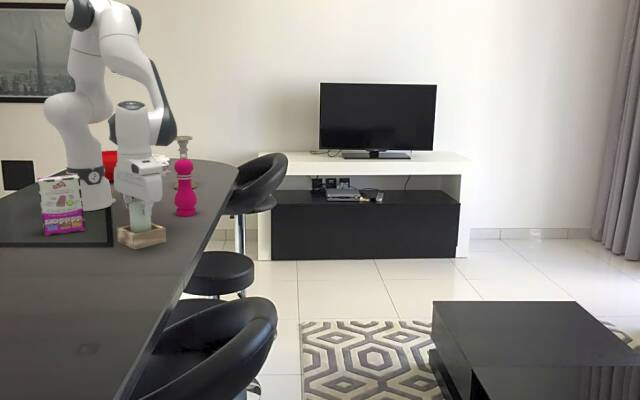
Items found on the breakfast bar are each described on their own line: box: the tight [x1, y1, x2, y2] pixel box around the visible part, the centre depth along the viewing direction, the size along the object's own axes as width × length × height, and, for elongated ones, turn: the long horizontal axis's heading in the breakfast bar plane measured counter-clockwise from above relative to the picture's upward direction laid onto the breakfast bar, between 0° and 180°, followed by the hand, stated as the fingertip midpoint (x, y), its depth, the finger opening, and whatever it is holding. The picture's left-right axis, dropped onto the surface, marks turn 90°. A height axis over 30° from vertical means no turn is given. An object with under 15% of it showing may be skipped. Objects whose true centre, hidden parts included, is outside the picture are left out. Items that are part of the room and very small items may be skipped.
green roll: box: [128, 200, 152, 234], centre depth 152 cm, size 6×6×10 cm
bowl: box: [102, 149, 118, 182], centre depth 235 cm, size 30×30×10 cm
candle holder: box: [173, 135, 197, 190], centre depth 218 cm, size 9×9×20 cm
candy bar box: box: [36, 175, 86, 237], centre depth 161 cm, size 11×5×16 cm, turn 117°
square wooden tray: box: [116, 222, 167, 250], centre depth 153 cm, size 10×10×4 cm
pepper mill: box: [174, 154, 198, 217], centre depth 180 cm, size 7×7×20 cm
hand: (138, 212), depth 152 cm, fingers open, 8 cm apart
